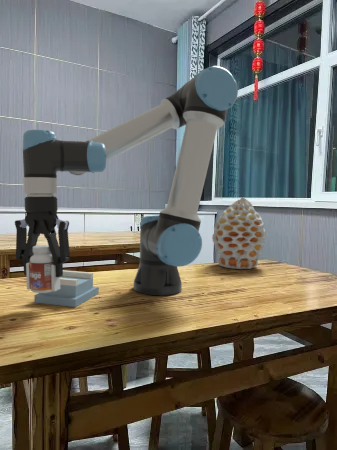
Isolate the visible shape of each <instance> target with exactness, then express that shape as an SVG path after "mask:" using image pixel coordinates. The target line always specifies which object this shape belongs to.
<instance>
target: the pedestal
mask: <svg viewBox="0 0 337 450" xmlns="http://www.w3.org/2000/svg"><path fill="white" fill-rule="evenodd" d="M99 291H100V289H99V286H94V272H91V271H90V272H88V271H87V272H86V271H76V270H66V269H65V270H64V269H63V275H62V276H61V277H60V289H59V290H57V291H52V292H48V293H35V294H34V300H33V301H34V303H35V304H44V305H45V304H46V305H51V306H52V305H54V306H62V307H71V308H72V307H73V308H77V307H79V306H80V305H82V304H83V303H85V302H87V301H89V300H90V299H92V298H94V297H96V296H97V295H98V294H100V292H99Z"/></svg>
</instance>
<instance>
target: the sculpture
mask: <svg viewBox="0 0 337 450" xmlns="http://www.w3.org/2000/svg"><path fill="white" fill-rule="evenodd" d="M264 225H265V223H264V221H263V219H262V216H261V215H260V214H259V212H257V211H256V210H255V207H254V205H253V204H252V202H251V201H249V200H248V199H247V198H245V197H241V198H240V199H237V200H236V201H234V202H233V203H232V204H230V205H229V206H228V207H227V208H226V209H225V210H224V211H223V212H222V214H221V215H220V216H219V217H218V219H217V221H216V223H215V224H214V227H213V233H212V237H211V238H212V243H213V244H214V248H215V250H216V253H217V254H218V255H219V258H218V266H220V267H223V268H226V269H227V268H228V269H233V270H234V269H236V270H244V269H245V270H251V269H253V268H257V266H258V262H259V258H260V256H261V254H262V253H263V251H264V244H265V238H266V229H265V228H264Z"/></svg>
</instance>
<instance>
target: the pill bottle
mask: <svg viewBox="0 0 337 450" xmlns="http://www.w3.org/2000/svg"><path fill="white" fill-rule="evenodd" d="M33 253H34V255H33V256H31V258H30V282H31V289H30V291H31V293H35V294H38V293H48V292H52V281H51V265H52V263H54V261H53V258H52V255H51V252H50V248H49V245H48V244H39V245H38V244H36V246H33Z"/></svg>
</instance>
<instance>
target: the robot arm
mask: <svg viewBox="0 0 337 450" xmlns="http://www.w3.org/2000/svg"><path fill="white" fill-rule="evenodd" d="M238 95H239V89H238V83H237V81H236V80H235V78H234V76H233V75H232V73H231V72H230V71H229V70H228V69H226V68H224V67H221V66H218V65H213V66H209V67H207V68H203V69H201V70H200V71H199V72H198V74H196V75H194V77H192V78H191V79H190V80H188V81H187V82H186V83H184V84H183V85H182V86H181V87H180V88H179V89H177V91H175V92H174V93H172V94H171V95H169V96H167V97H165V98H163V99H162V100H161V102H160V104H159V105H157V106H155V107H153V108H151V109H148V110H146V111H145V112H143V113H141V114H139V115H136V116H135V117H132V118H131V119H129V120H127V121H125V122H123V123H120V124H118V125H116V126H115V127H112V128H111V129H108V130H106V131H104V132H102V133H100V134H99V135H97V136H94V137H92V138H91V139H89V140H86V141H79V140H74V141H73V140H59V139H58V138H57V136H56V133H55V132H54V131H52V130H46V129H29V130H26V131H25V132H24V133H23V136H22V160H23V161H22V162H23V163H22V164H23V165H22V167H23V193H24V195H27V196H25V198H24V211H25V213H26V214H25V217H24V218H23V219H19V220H15V221H14V226H15V230H16V237H15V238H16V239H15V240H16V241H15V243H16V244H15V259H16V260H17V261H21V262H22V263H23V275H24V276H26V290H27V291H28V290H29V291H31V282H30V258H31V256H33V255H34V253H33V246H37V245H38V243H37V242H38V239H39V237H40V235H43V237H44V238H45V239H46V242H47V245H49V248H50V252H51V255H52V258H53V261H54V263H52V265H51V281H52V291H57V290H59V289H60V277H61V276H62V275H63V270H64V268H63V267H64V266H63V265H64V263H65V262H69V261H70V260H71V253H70V243H69V231H68V230H69V226H70V221H69V220H62V219H59V216H58V214H57V213H58V208H59V207H58V198H57V196H56V195H57V194H58V187H57V186H58V185H57V184H58V183H57V182H58V181H57V180H58V179H57V172H60V173H61V172H62V173H63V172H66V173H67V172H68V173H70V174H71V175H74V176H82V175H84V174H85V173H92V174H93V173H103V172H105V169H106V166H107V162H108V161H110V160H111V159H114V158H115V157H118V156H120V155H122V154H123V153H126V152H127V151H129V150H131V149H133V148H135V147H137V146H139V145H141V144H143V143H145V142H147V141H150V140H151V139H153V138H155V137H157V136H159V135H161V134H163V133H165V132H166V131H168V130H171V129H174V130H178V129H180V128H182V127H184V126H185V127H184V133H183V136H182V141H181V144H180V149H179V153H178V158H177V162H176V167H175V170H174V175H173V179H172V184H171V188H170V192H169V197H168V200H167V203H166V207H165V208H163V209H162V210H160V211H159V215H157V214H156V215H145V216H144V217H142V218H141V220H140V225H139V230H140V234H139V235H140V237H139V239H140V241H139V243H140V244H139V264H138V265H139V266H138V268H137V271H136V274H135V277H134V279H133V291H134V292H137V293H139V294H143V295H151V296H169V295H175V294H179V293H181V291H182V290H183V289H182V285H183V283H182V280H181V279H182V278H181V276H180V273H179V269H178V267H179V268H180V267H185V266H188V265H189V264H192V263H193V262H194V261H195V260H196V259H197V258H198V257H199V255H200V253H201V251H202V248H203V239H202V236H201V233H200V227H201V222H202V221H201V219H200V217H199V215H198V212H199V211H198V210H199V206H200V201H201V199H202V198H201V197H202V194H203V189H204V187H205V186H204V185H205V181H206V178H207V173H208V168H209V165H210V160H211V155H212V152H213V148H214V143H215V139H216V135H217V132H218V129H220V128H222V127H223V126H224V125H225V120H226V117H227V112H228V110H229V109H230V108H232V107H233V105H234V104H235V103H236V101H237V99H238ZM27 227H28V229H27ZM56 228H57V229H58V230H57V231H56ZM57 234H58V236H57ZM57 237H58V238H57Z"/></svg>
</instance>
